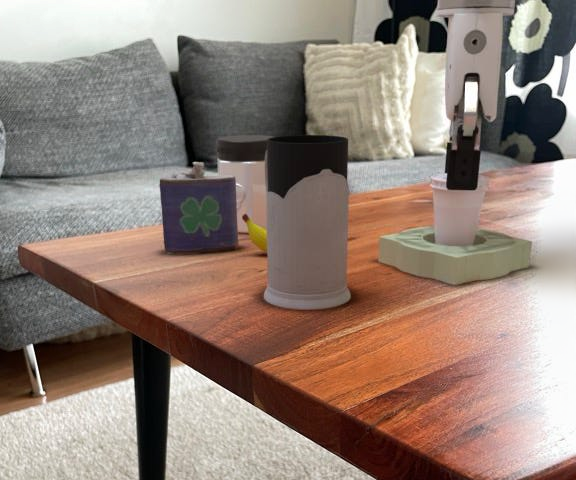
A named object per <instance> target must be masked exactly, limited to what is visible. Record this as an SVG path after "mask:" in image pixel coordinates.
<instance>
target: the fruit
mask: <svg viewBox="0 0 576 480" xmlns="http://www.w3.org/2000/svg"><path fill="white" fill-rule="evenodd" d="M242 219H243V220H244V221H245V222H246V224H247V226H248V232H249V233H248V237H249V239H250V241H251V243H252V244H253V245H254V246H255V247H256V248H258V249H259V250H261V251H262V252H265V253H267V230H265V229H263V228H262V227H260V226H258V225H256V224H254V223H253V222H252V221H251V220H250V219H249V217H248V215H247V214H244V215H243V216H242Z"/></svg>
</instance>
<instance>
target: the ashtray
mask: <svg viewBox="0 0 576 480" xmlns="http://www.w3.org/2000/svg"><path fill="white" fill-rule="evenodd" d="M378 237H379V240H378V258H377V259H378V260H377V262H378V263H381V264H384V265H388V266H392V267H393V268H397V269H398V270H399V271H401V272H404V273H407V274H410V275H412V276H416V277H419V278H425V279H426V278H427V279H432V280H436V281H439V282H443V283H446V284H449V285H452V286H458V285H463V284H466V283H470V282H475V281H485V280H487V281H488V280H492V279H496V278H500V277H505V276H508V274H510V273H511V272H515V271H519V270H522V269H526V268H529V265H530V257H531V253H532V243H533V241H532V240H528V239H524V238H520V237H515V236H510V235H509V234H506V233H503V232H500V231H496V230H490V229H487V228H478V227H477V230H476V235H475V239H474V244H473V246H446V245H438V244H435V228H434V225H433V226H420V227H414V228H410V229H409V228H408V229H404V230H402V231H400V232H395V233H391V234H385V235H380V236H378Z"/></svg>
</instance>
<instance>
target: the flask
mask: <svg viewBox="0 0 576 480" xmlns="http://www.w3.org/2000/svg"><path fill="white" fill-rule="evenodd" d="M204 163H205V162H203V161H202V162H201V161H200V162H199V161H194V162H193V161H192V163H191V164H192V165H193V167H192V168H191V170H190V171H188V172H179V173H176V172H173V173H172V174H171V176H164V177H163V176H162V177H161V178H159V184H158V187H159V195H160V196H159V199H160V206H161V217H162V218H161V219H162V230H163V231H162V235H163V245H164V250H165V253H166V255H197V254H203V253H209V254H210V253H219V252H230V251H236V250H238V249H239V248H238V247H239V233H238V226H237V202H236V180H235V179H236V178H235V176H233V175H218V174H216V175H205V173H206V171H205V170H204V169H203V167H205V164H204ZM181 175H182V176H181Z"/></svg>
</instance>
